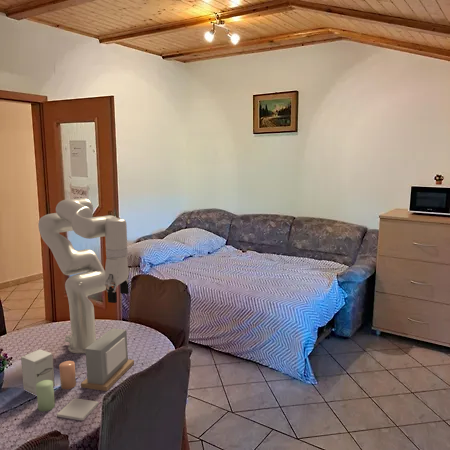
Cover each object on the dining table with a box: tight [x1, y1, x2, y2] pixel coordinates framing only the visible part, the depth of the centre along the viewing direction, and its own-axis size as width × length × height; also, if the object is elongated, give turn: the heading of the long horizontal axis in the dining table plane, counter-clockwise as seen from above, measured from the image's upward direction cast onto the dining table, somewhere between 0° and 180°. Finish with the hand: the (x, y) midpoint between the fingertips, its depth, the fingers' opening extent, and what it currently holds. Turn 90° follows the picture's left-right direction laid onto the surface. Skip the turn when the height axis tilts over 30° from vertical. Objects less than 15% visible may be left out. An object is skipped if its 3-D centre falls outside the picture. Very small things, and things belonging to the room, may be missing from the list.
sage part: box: [36, 380, 56, 413], centre depth 135 cm, size 5×5×8 cm
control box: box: [80, 327, 135, 392], centre depth 154 cm, size 10×20×14 cm, turn 165°
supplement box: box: [20, 348, 56, 395], centre depth 145 cm, size 7×7×13 cm
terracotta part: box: [58, 360, 77, 390], centre depth 148 cm, size 5×5×8 cm
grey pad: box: [56, 397, 100, 422], centre depth 134 cm, size 9×9×1 cm
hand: (118, 297), depth 156 cm, fingers open, 9 cm apart
